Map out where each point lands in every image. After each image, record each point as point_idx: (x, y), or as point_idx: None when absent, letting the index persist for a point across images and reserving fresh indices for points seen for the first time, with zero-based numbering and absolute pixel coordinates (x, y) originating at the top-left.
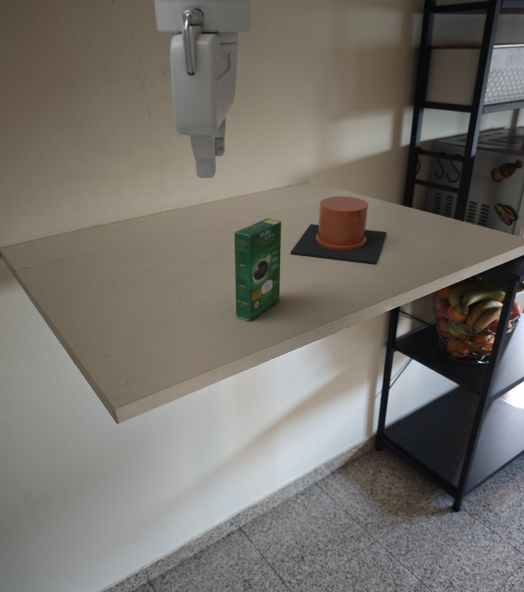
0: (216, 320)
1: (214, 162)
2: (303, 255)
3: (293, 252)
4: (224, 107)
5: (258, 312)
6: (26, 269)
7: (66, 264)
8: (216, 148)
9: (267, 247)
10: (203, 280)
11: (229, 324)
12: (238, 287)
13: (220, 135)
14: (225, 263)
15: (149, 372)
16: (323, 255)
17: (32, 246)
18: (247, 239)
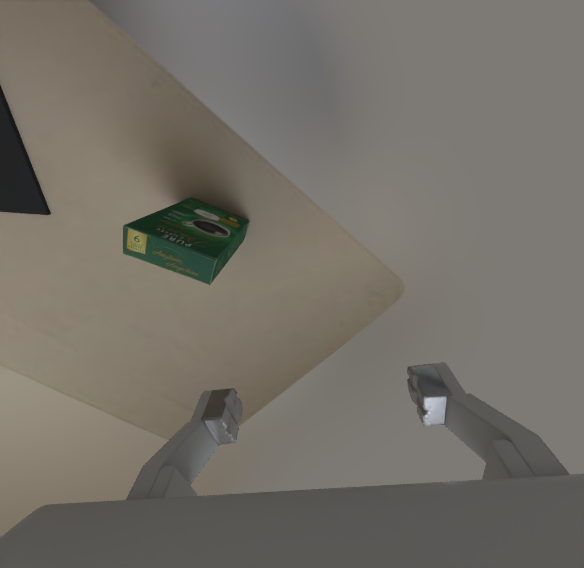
0: (258, 256)
1: (448, 385)
2: (42, 194)
3: (46, 210)
4: (412, 542)
5: (232, 215)
6: None
7: None
8: (230, 410)
9: (183, 230)
10: (180, 295)
11: (261, 240)
12: (236, 247)
13: (200, 433)
14: (128, 286)
15: (360, 283)
16: (25, 161)
17: None
18: (218, 260)
